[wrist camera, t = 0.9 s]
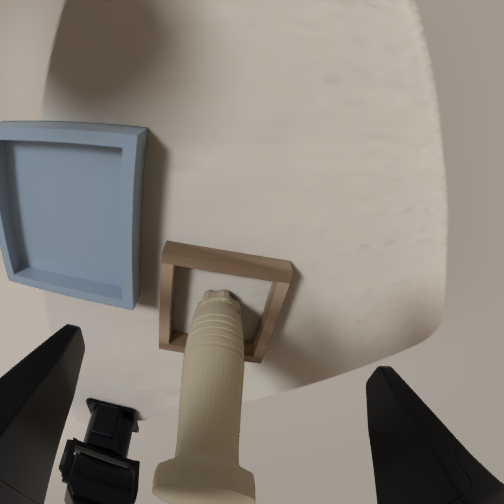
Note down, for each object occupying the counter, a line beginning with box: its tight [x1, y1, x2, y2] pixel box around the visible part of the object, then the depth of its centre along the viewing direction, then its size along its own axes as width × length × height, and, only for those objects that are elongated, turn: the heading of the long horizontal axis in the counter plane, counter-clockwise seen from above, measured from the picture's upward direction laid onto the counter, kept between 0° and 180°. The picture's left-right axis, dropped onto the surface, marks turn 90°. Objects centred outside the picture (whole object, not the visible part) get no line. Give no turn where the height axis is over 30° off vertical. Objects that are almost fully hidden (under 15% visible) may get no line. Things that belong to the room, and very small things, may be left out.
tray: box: [0, 121, 148, 310], centre depth 19 cm, size 13×12×2 cm
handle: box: [152, 290, 255, 504], centre depth 18 cm, size 5×6×15 cm
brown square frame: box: [159, 241, 293, 363], centre depth 24 cm, size 10×9×2 cm
